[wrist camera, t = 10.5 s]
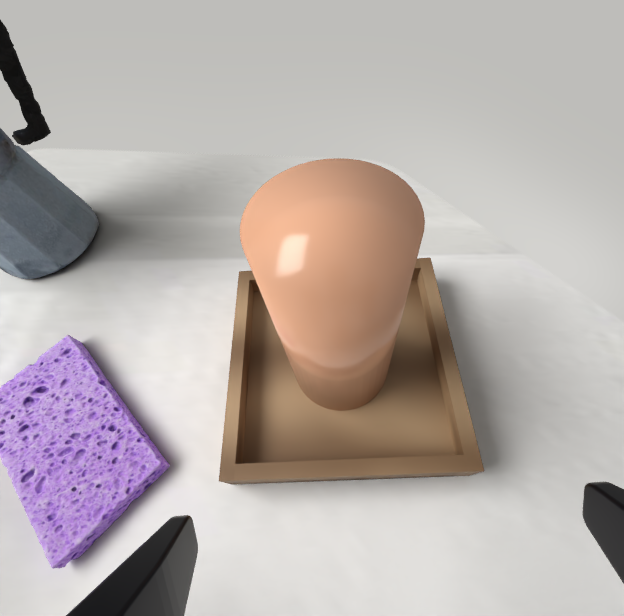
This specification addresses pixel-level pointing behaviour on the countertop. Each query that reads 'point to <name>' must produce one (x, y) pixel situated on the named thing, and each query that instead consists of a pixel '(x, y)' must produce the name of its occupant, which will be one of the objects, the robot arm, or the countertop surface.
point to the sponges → (72, 450)
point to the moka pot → (35, 192)
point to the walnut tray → (350, 423)
